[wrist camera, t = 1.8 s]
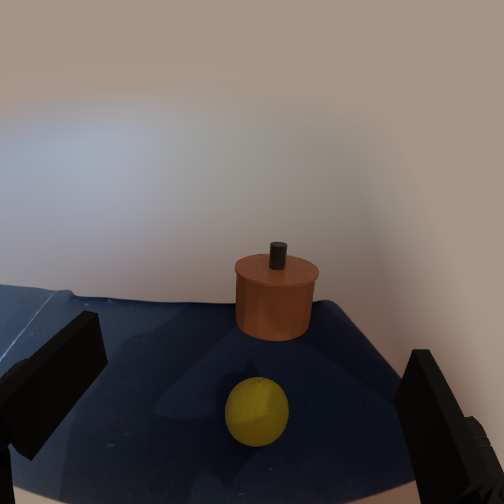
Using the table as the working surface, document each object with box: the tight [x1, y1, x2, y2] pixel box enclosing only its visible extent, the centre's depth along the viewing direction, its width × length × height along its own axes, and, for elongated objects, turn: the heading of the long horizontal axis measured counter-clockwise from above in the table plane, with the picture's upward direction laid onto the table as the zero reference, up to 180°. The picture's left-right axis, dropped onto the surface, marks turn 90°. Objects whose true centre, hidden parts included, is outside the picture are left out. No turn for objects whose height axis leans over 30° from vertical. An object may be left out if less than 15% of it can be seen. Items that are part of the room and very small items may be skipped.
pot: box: [235, 275, 315, 341], centre depth 47 cm, size 11×11×8 cm
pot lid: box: [235, 242, 319, 288], centre depth 46 cm, size 12×12×5 cm
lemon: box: [225, 377, 289, 447], centre depth 25 cm, size 6×6×8 cm
